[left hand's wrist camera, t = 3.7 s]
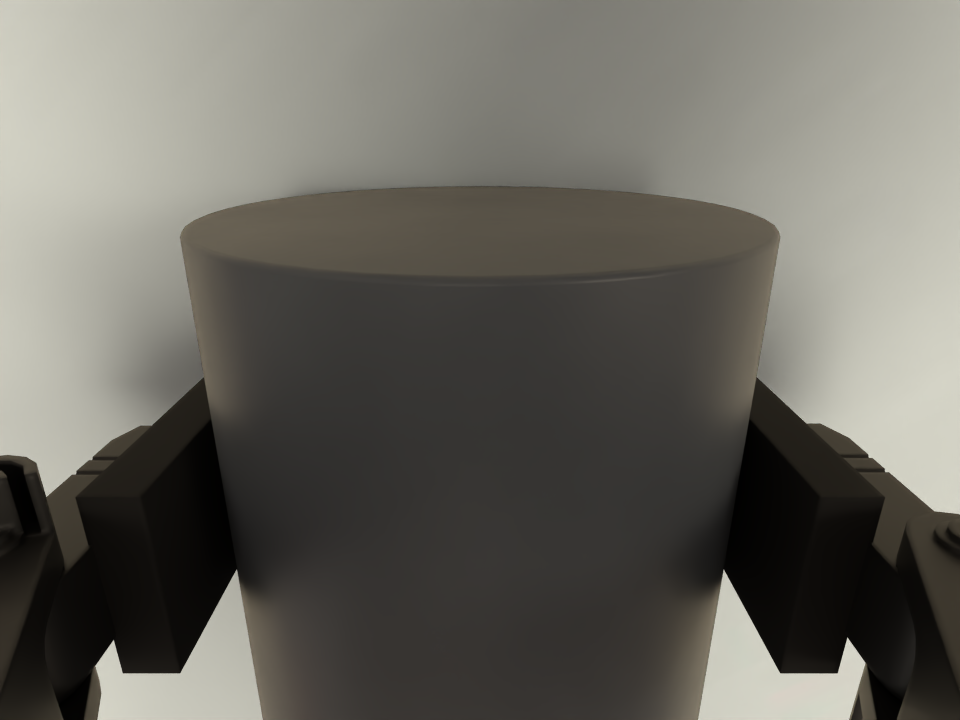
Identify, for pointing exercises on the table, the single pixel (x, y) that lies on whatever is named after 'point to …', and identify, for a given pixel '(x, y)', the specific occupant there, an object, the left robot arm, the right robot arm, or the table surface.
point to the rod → (480, 443)
